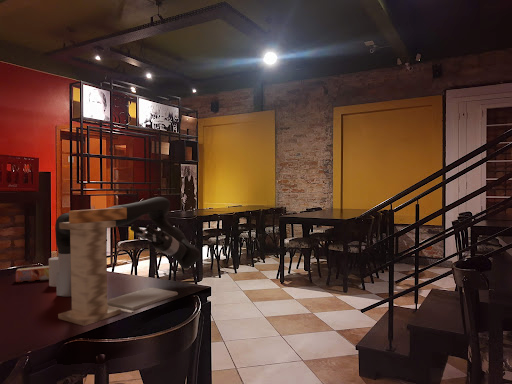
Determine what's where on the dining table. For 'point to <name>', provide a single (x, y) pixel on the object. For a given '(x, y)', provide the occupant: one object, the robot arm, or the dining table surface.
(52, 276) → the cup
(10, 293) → the dining table surface
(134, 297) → the mat
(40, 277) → the snack package
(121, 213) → the bar
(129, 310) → the line
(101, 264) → the stand
